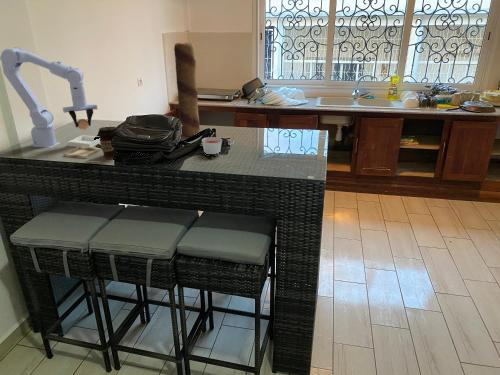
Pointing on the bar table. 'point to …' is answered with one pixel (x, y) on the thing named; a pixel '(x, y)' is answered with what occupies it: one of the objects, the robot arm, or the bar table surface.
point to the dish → (84, 141)
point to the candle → (211, 145)
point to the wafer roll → (187, 88)
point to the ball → (83, 124)
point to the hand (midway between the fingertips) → (83, 126)
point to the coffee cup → (107, 141)
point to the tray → (82, 152)
